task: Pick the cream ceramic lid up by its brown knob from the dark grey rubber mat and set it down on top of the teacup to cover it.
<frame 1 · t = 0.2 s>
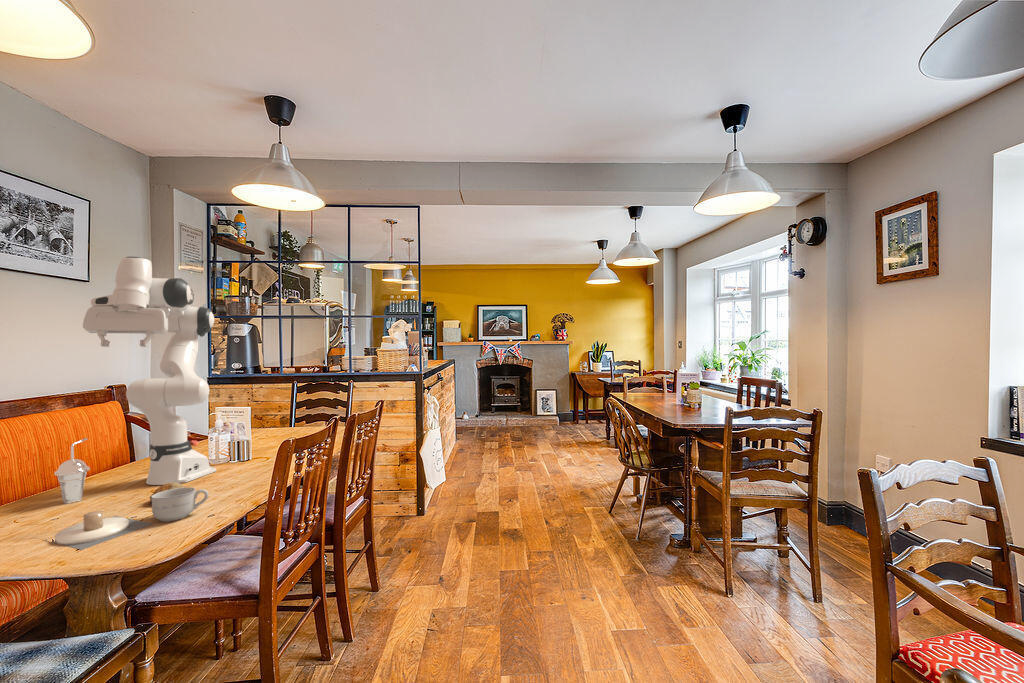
hand: (124, 346, 137), 52 cm above the table, tool tilted 20°, fingers open, 8 cm apart
teacup: (180, 518, 136), on the table
lid: (93, 532, 125), resting on mat
mat: (100, 532, 126), on the table
bread roll: (169, 502, 149), on the table
cup with straw: (73, 501, 150), on the table
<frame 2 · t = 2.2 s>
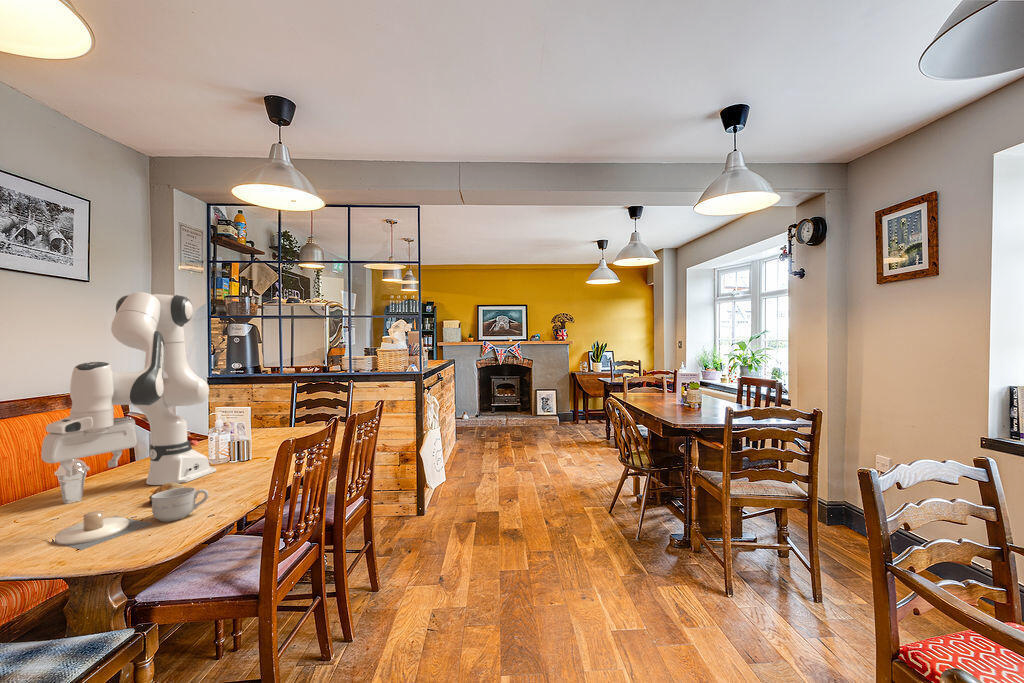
hand: (92, 471, 125), 17 cm above the table, tool pointing down, fingers open, 8 cm apart
nothing on the table moved.
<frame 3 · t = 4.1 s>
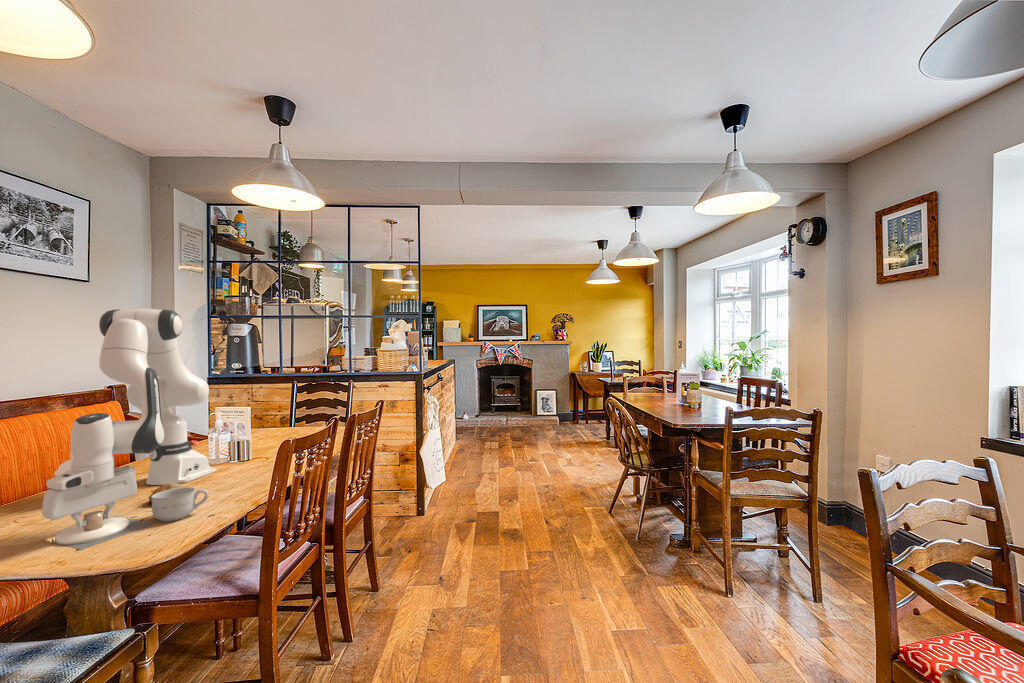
hand: (93, 523, 125), 3 cm above the table, tool pointing down, fingers closed on lid, 4 cm apart
lid: (93, 532, 125), resting on mat, touching gripper
everything else where it was.
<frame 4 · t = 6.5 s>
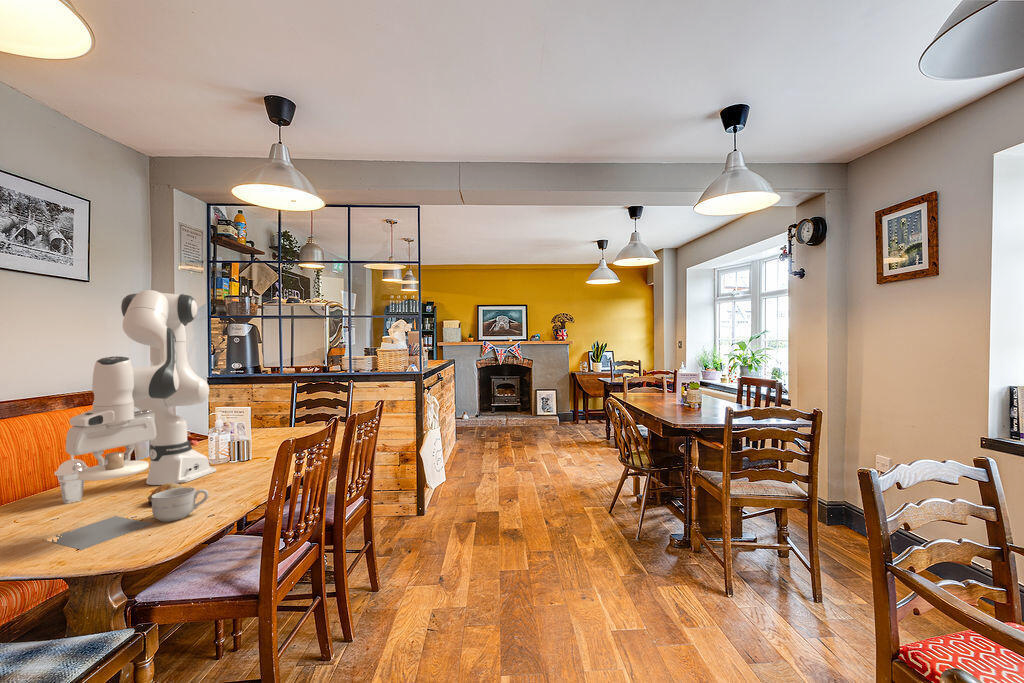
hand: (114, 463, 128), 19 cm above the table, tool pointing down, fingers closed on lid, 4 cm apart
lid: (114, 472, 128), point 16 cm above the table, touching gripper
everything else where it was.
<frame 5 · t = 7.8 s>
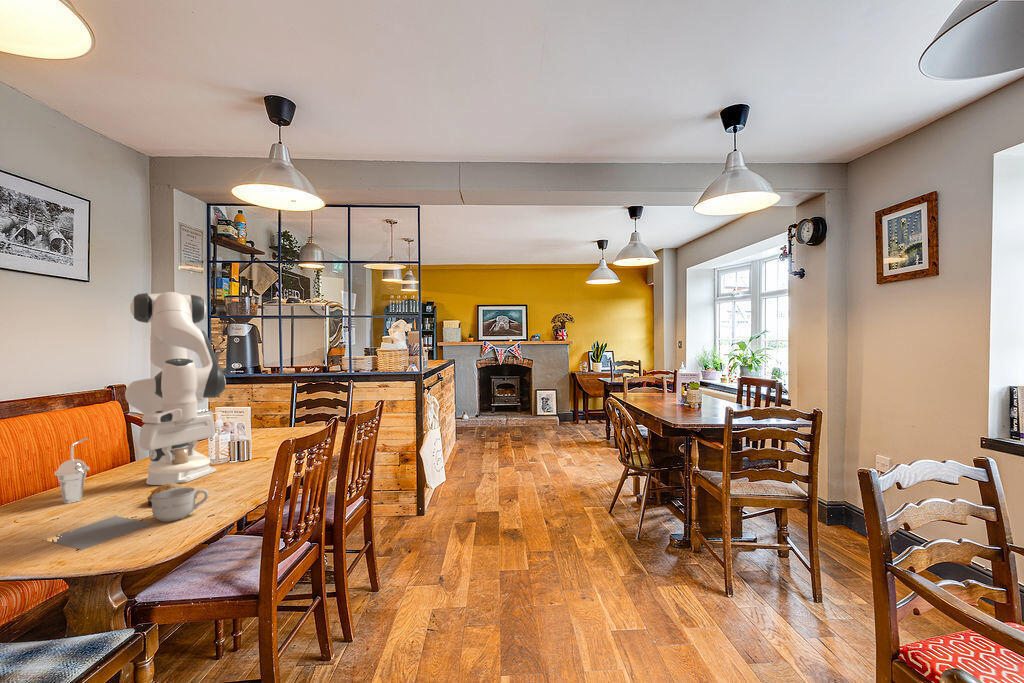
hand: (180, 458, 136), 18 cm above the table, tool pointing down, fingers closed on lid, 4 cm apart
lid: (180, 466, 136), point 15 cm above the table, touching gripper
everything else where it was.
when the fingers open (12 cm above the table, at t = 9.1 s): lid drops 1 cm, resting on teacup.
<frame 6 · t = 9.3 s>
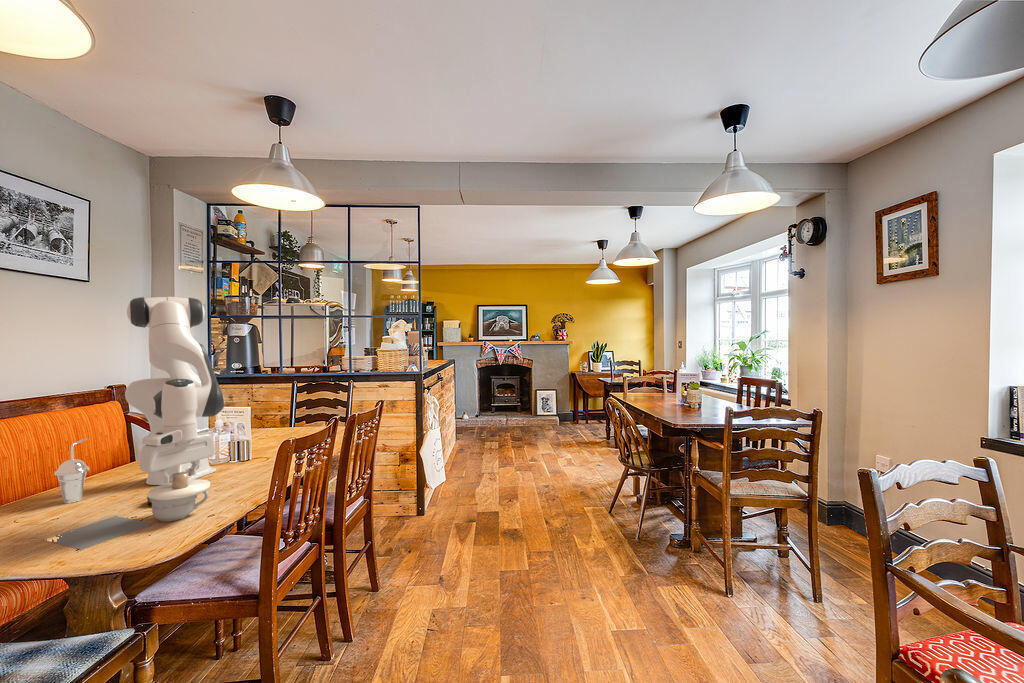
hand: (180, 479, 136), 12 cm above the table, tool pointing down, fingers open, 5 cm apart
teacup: (180, 518, 136), on the table, touching lid
lid: (180, 491, 136), point 8 cm above the table, touching teacup
everything else where it was.
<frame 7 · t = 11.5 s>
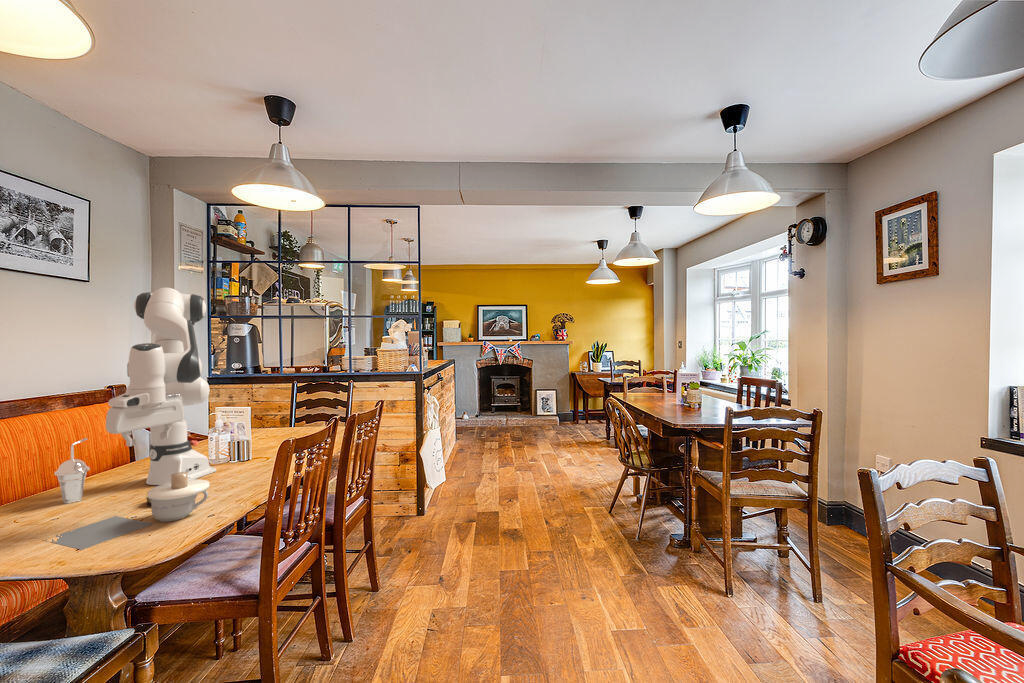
hand: (148, 442, 138), 22 cm above the table, tool pointing down, fingers open, 8 cm apart
nothing on the table moved.
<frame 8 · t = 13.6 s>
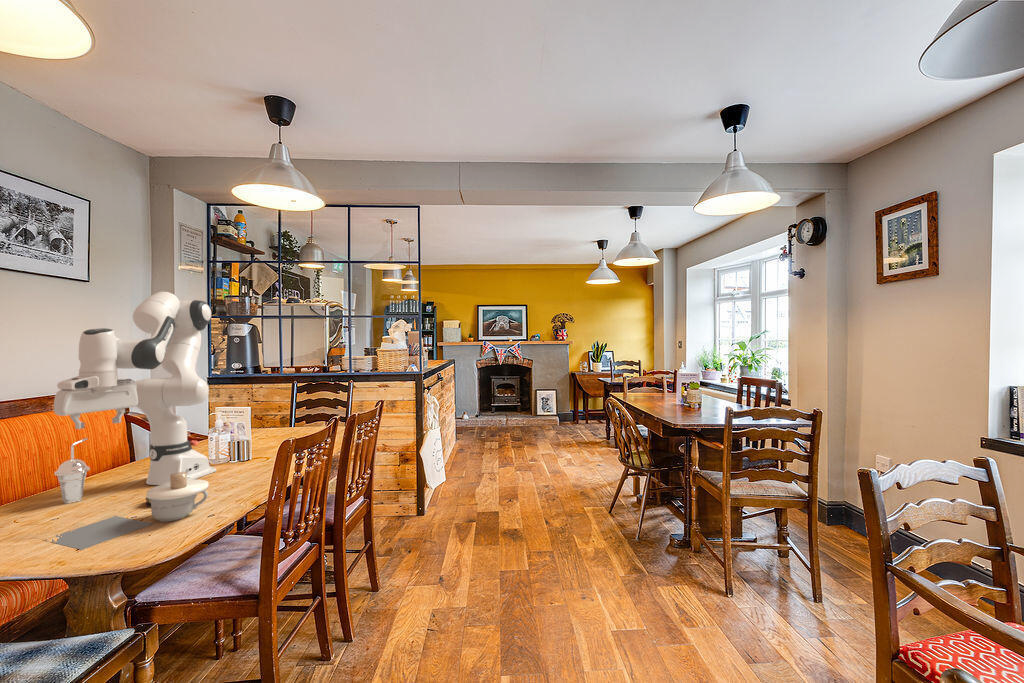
hand: (98, 425, 139), 27 cm above the table, tool pointing down, fingers open, 8 cm apart
at the end: lid inside the target area on the teacup (0.3 cm from its centre), point 8.2 cm above the teacup's base; lid touching teacup; teacup tilted 0° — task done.
